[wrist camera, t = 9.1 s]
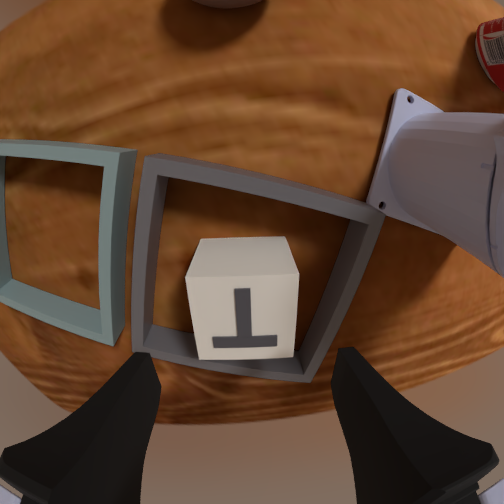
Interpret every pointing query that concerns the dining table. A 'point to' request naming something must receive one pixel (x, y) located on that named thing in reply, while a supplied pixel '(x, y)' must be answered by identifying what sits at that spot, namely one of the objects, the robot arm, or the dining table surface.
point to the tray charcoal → (360, 213)
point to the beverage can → (491, 50)
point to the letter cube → (243, 298)
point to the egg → (227, 3)
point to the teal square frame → (110, 242)
